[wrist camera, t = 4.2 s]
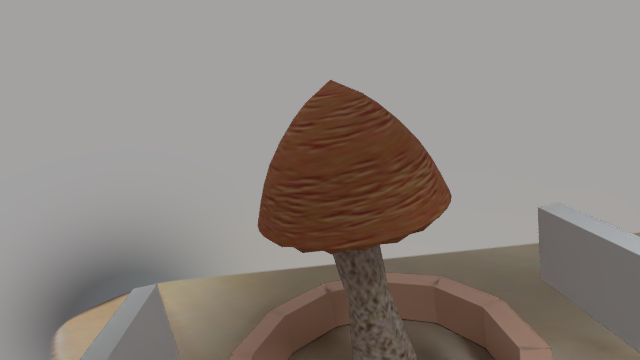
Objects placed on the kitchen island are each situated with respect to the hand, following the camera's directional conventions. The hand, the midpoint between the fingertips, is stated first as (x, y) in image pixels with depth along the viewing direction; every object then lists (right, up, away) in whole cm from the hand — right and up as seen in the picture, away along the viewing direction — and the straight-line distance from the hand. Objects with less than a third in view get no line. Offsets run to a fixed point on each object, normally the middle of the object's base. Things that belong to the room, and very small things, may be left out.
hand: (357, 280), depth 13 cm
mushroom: (+2, -7, +6) cm, 9 cm away
